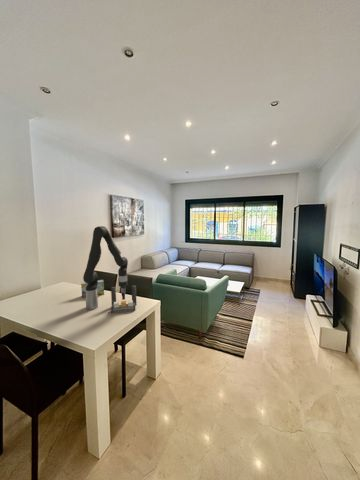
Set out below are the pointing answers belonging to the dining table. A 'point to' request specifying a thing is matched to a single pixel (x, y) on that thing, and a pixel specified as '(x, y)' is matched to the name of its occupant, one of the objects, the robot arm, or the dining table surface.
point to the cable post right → (134, 294)
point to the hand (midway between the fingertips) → (123, 299)
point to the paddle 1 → (116, 304)
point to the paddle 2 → (130, 303)
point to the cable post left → (113, 295)
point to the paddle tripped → (123, 303)
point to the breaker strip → (123, 308)
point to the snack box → (99, 288)
